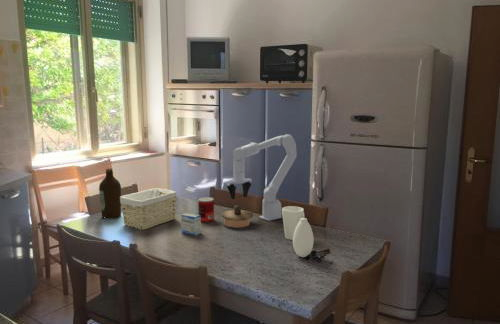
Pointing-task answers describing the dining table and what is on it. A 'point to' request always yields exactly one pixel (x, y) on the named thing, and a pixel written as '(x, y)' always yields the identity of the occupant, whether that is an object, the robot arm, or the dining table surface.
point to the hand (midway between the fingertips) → (239, 197)
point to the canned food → (206, 209)
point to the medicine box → (191, 224)
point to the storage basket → (148, 208)
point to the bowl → (237, 223)
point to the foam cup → (291, 219)
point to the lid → (237, 214)
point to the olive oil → (110, 196)
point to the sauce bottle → (303, 238)
